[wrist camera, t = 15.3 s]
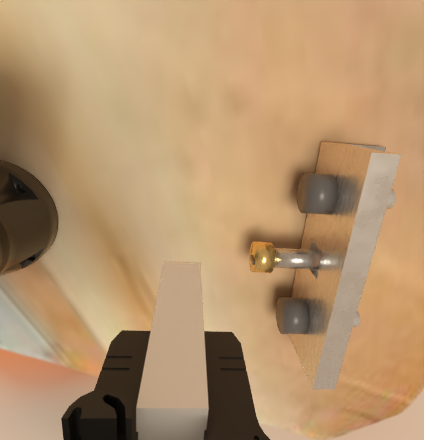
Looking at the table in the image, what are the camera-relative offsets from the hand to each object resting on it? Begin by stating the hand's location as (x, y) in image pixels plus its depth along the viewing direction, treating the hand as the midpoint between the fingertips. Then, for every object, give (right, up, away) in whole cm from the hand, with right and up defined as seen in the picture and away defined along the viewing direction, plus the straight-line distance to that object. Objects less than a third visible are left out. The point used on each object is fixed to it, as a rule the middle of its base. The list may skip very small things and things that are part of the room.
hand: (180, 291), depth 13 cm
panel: (+19, -1, +33) cm, 38 cm away
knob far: (+17, -10, +33) cm, 39 cm away
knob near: (+18, +7, +27) cm, 34 cm away
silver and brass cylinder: (+12, -1, +29) cm, 32 cm away
